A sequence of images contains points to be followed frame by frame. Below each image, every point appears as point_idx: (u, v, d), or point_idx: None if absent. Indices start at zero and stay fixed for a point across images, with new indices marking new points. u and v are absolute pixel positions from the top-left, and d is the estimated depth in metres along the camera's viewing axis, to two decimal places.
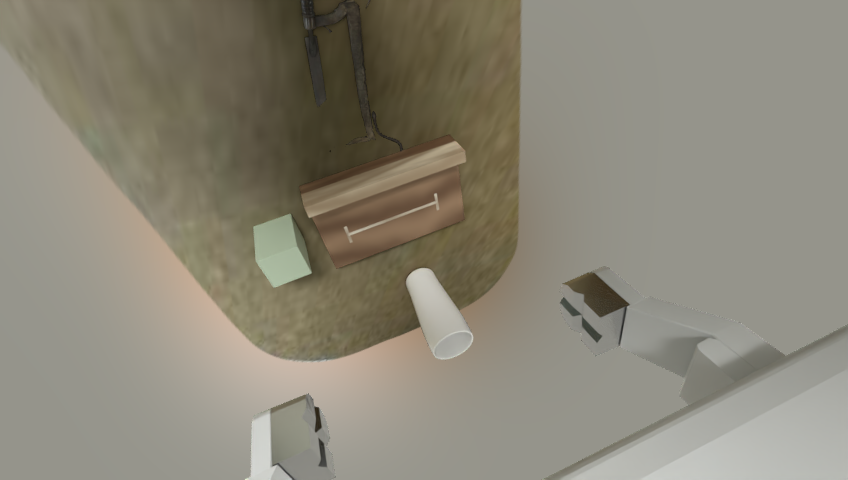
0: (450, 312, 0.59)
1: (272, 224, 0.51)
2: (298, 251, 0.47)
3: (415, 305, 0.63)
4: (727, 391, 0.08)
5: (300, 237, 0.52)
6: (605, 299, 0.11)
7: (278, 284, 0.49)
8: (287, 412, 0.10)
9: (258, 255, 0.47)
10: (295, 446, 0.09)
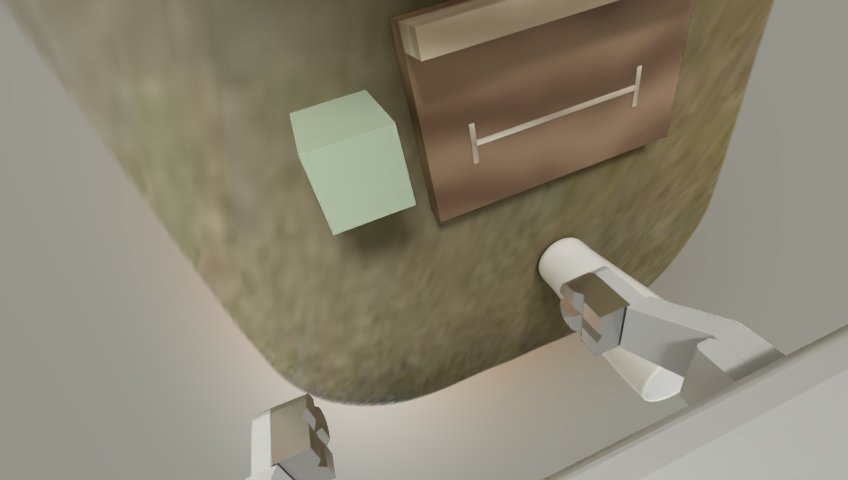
0: None
1: (329, 105, 0.24)
2: (396, 139, 0.20)
3: None
4: (727, 391, 0.08)
5: None
6: (605, 299, 0.11)
7: (343, 226, 0.22)
8: (287, 412, 0.10)
9: (304, 146, 0.19)
10: (295, 446, 0.09)
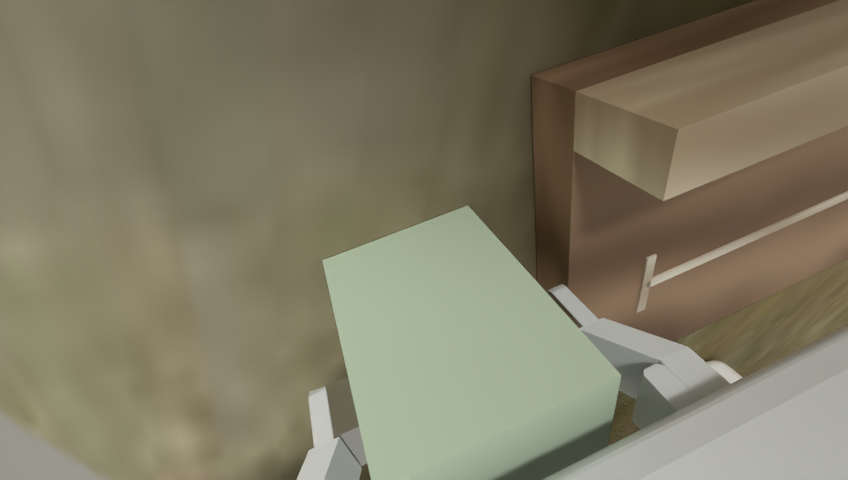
0: None
1: (405, 249, 0.12)
2: (610, 402, 0.08)
3: None
4: (727, 391, 0.08)
5: None
6: None
7: None
8: (343, 388, 0.10)
9: (382, 439, 0.07)
10: (355, 419, 0.10)
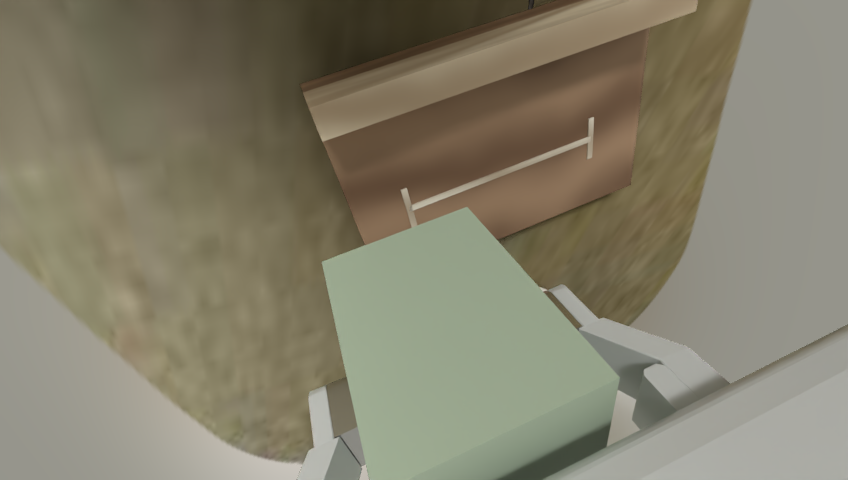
0: None
1: (404, 251, 0.12)
2: (608, 404, 0.08)
3: None
4: (727, 391, 0.08)
5: None
6: None
7: None
8: (343, 388, 0.10)
9: (380, 441, 0.07)
10: (355, 419, 0.10)
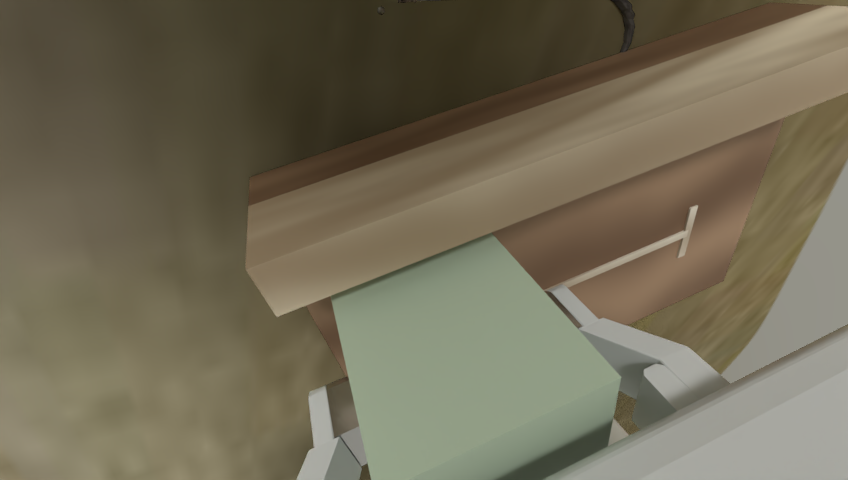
0: None
1: None
2: (610, 403, 0.08)
3: None
4: (727, 391, 0.08)
5: None
6: None
7: None
8: (343, 388, 0.10)
9: (382, 441, 0.07)
10: (355, 419, 0.10)
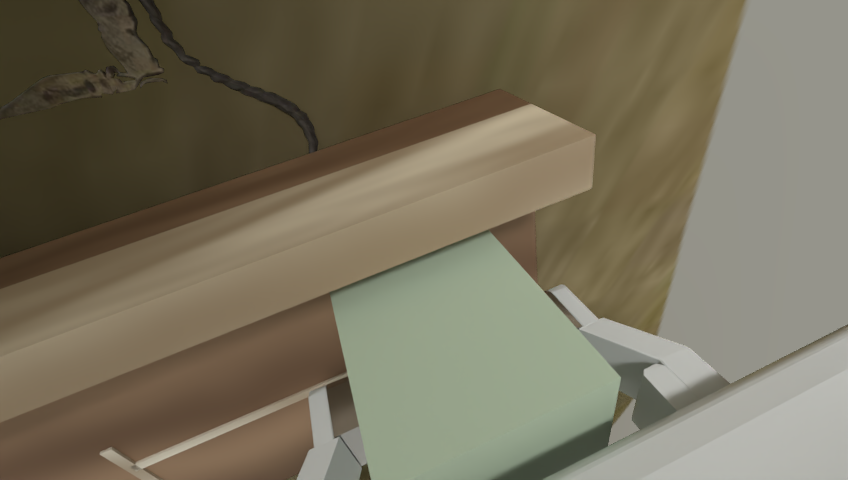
0: None
1: None
2: (609, 403, 0.08)
3: None
4: (727, 391, 0.08)
5: None
6: None
7: None
8: (343, 388, 0.10)
9: (382, 441, 0.07)
10: (355, 419, 0.10)
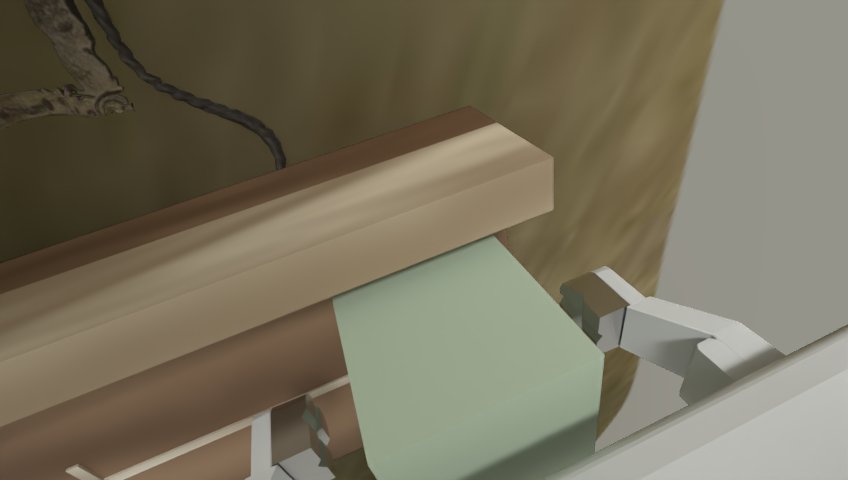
0: None
1: None
2: (595, 382, 0.08)
3: None
4: (727, 391, 0.08)
5: None
6: (605, 299, 0.11)
7: None
8: (287, 412, 0.10)
9: (376, 416, 0.08)
10: (295, 446, 0.09)
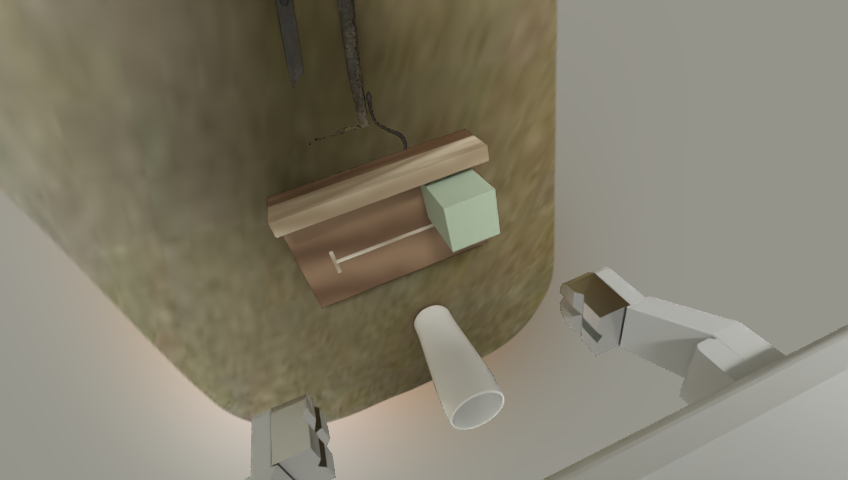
0: (472, 364, 0.44)
1: None
2: (494, 197, 0.35)
3: (426, 354, 0.49)
4: (727, 391, 0.08)
5: None
6: (605, 299, 0.11)
7: (459, 247, 0.37)
8: (287, 412, 0.10)
9: (443, 203, 0.35)
10: (295, 446, 0.09)
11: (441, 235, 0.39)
